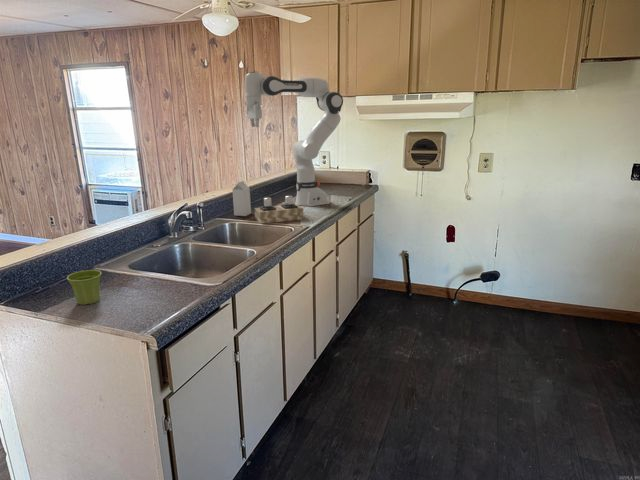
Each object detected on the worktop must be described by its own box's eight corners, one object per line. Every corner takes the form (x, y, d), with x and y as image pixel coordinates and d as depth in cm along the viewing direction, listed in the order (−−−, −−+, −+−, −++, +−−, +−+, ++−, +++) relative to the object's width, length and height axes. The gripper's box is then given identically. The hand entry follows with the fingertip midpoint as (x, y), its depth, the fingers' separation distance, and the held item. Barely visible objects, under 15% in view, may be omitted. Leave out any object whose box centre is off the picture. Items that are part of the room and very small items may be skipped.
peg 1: (270, 209, 238) (270, 197, 236) (272, 210, 234) (272, 198, 232) (263, 210, 236) (262, 197, 235) (265, 211, 233) (264, 199, 231)
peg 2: (291, 207, 242) (291, 195, 240) (293, 208, 239) (293, 196, 237) (284, 208, 241) (284, 196, 239) (286, 209, 237) (286, 197, 235)
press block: (296, 214, 249) (296, 202, 247) (303, 219, 238) (303, 206, 236) (255, 218, 240) (254, 206, 238) (260, 223, 229) (259, 210, 227)
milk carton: (251, 213, 252) (249, 180, 247) (245, 216, 246) (243, 182, 241) (240, 213, 255) (238, 180, 249) (234, 215, 248) (231, 182, 243)
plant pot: (88, 293, 142) (83, 268, 139) (112, 296, 139) (108, 271, 137) (64, 305, 133) (59, 278, 131) (89, 309, 131) (84, 281, 128)
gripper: (263, 101, 242) (265, 127, 246) (254, 102, 260) (256, 126, 264) (252, 101, 240) (254, 127, 244) (244, 102, 258) (245, 126, 262)
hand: (255, 126), depth 254 cm, fingers open, 8 cm apart
